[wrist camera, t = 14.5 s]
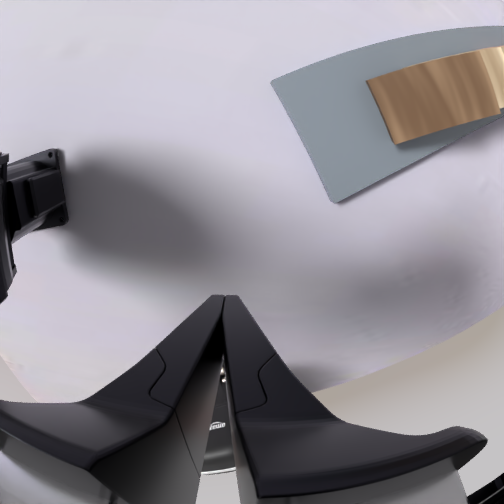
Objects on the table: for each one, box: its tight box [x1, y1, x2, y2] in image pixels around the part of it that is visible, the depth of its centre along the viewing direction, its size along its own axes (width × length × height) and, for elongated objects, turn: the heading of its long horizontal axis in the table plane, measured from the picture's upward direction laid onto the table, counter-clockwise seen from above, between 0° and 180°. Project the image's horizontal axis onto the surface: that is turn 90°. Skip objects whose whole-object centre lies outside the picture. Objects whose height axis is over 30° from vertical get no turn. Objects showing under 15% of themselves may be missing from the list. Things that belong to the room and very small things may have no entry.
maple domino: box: [402, 47, 504, 108], centre depth 14 cm, size 2×5×10 cm
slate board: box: [271, 26, 504, 204], centre depth 17 cm, size 33×10×1 cm, turn 119°
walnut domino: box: [365, 51, 501, 145], centre depth 14 cm, size 2×5×10 cm
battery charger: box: [201, 360, 236, 475], centre depth 22 cm, size 7×4×11 cm, turn 115°
